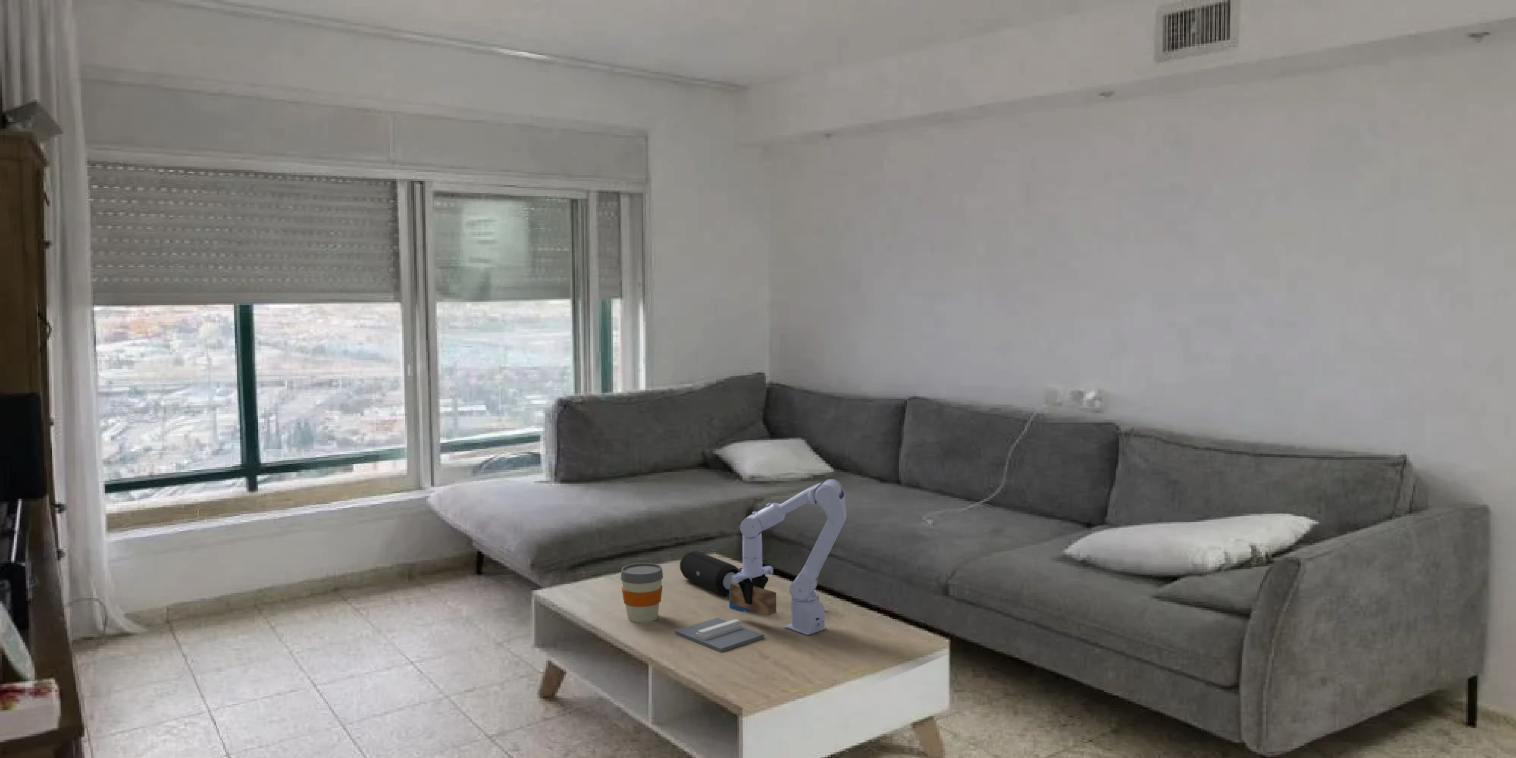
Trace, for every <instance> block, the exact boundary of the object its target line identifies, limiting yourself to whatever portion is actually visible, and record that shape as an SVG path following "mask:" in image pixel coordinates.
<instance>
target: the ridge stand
mask: <svg viewBox="0 0 1516 758" xmlns="http://www.w3.org/2000/svg"><path fill="white" fill-rule="evenodd" d="M674 634H675V635H676V636H678V637H681V638H684V639H687V640H689V641H692V642H694V643H696V644H699V645H701V646H705V647H707V648H709V649H712V650H715V651H716V652H718V653H719V652H720V653H722V652H725V651H728V650H732V649H735V648H737V647H741V646H744V645H746V644H750V643H753V642H756V641H758V640H762V639H764V638H765V634H764V633H761V632H758V631H755V630H752V629H751V628H747V627H745V626H743V624H741V621H740V620H739V619H736V618H735V619H731V620H725V619H722V618H720V617H714V618H713V619H708V620H706V621H702V622H699V623H696V624H692V625H689V626H685V627H682V628H678V629H675V630H674Z"/></svg>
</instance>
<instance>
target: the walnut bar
mask: <svg viewBox="0 0 1516 758" xmlns="http://www.w3.org/2000/svg"><path fill="white" fill-rule="evenodd" d="M730 603H731V604H734V605H738V606H741V607H744V608H747V609H751V610H750V611H755V612H757V613H761V614H764V615H767V616H771V615H774V614H777V592H775V591H772V590H768V589H765V588H764V589H762V588H759V587H755V586H754V587H753V592H752V604H747V603H745V600H744V596H743V593H742V590H741V588H740V586H739V585H738V583H737V584H736V583H730Z"/></svg>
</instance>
